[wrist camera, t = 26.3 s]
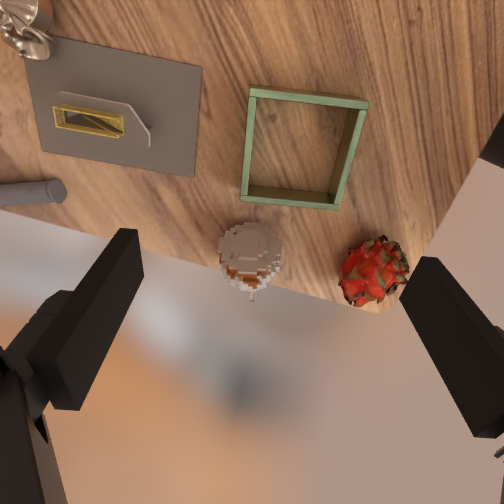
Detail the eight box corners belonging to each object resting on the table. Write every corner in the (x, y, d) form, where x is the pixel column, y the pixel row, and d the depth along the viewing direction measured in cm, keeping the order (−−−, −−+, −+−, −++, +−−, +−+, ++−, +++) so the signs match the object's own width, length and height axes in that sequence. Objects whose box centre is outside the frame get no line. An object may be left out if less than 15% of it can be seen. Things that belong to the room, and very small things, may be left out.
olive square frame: (359, 97, 32) (370, 101, 29) (331, 199, 39) (338, 210, 36) (250, 84, 32) (249, 87, 29) (240, 190, 38) (239, 201, 35)
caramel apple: (282, 220, 38) (276, 280, 51) (222, 218, 39) (231, 278, 51) (281, 271, 34) (275, 324, 46) (213, 267, 34) (225, 321, 46)
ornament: (-16, -38, 27) (-61, -61, 24) (49, -47, 26) (11, -73, 23) (12, 64, 30) (-25, 55, 27) (71, 60, 29) (40, 51, 26)
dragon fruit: (389, 217, 42) (344, 272, 50) (354, 223, 37) (309, 283, 45) (438, 260, 38) (380, 313, 46) (407, 274, 33) (347, 330, 41)
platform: (17, 28, 29) (-37, 22, 24) (202, 67, 31) (191, 70, 25) (42, 151, 36) (4, 168, 30) (193, 177, 37) (183, 198, 32)
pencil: (61, 176, 38) (46, 181, 35) (69, 199, 39) (54, 205, 36) (-21, 183, 38) (-43, 187, 36) (-11, 205, 40) (-32, 212, 37)
